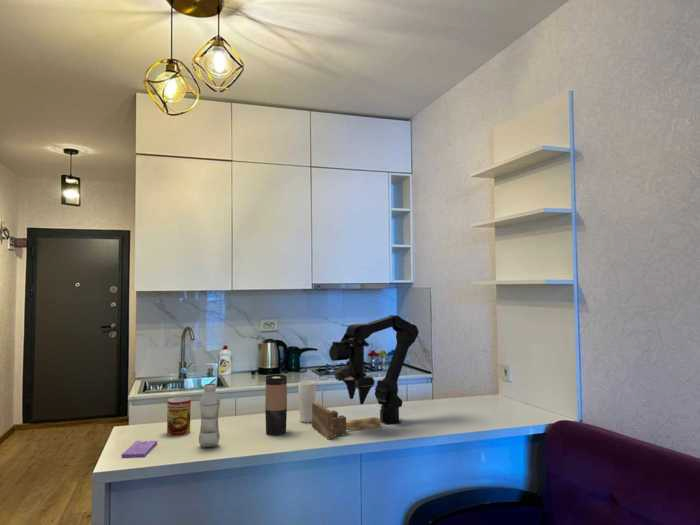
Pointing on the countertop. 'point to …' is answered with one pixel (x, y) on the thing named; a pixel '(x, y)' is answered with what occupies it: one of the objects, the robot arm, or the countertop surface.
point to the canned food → (178, 416)
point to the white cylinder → (306, 399)
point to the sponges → (139, 449)
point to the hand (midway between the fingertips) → (356, 401)
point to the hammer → (363, 423)
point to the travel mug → (276, 404)
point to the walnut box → (327, 421)
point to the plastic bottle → (209, 417)
